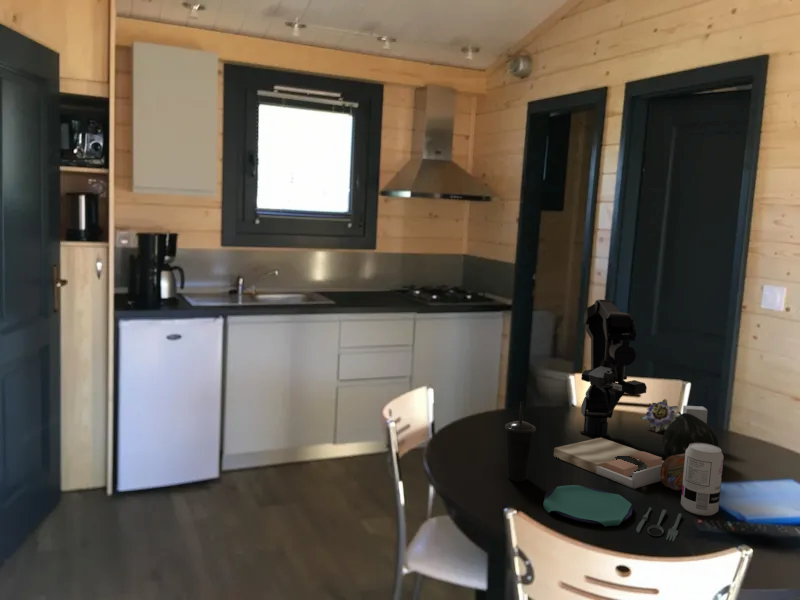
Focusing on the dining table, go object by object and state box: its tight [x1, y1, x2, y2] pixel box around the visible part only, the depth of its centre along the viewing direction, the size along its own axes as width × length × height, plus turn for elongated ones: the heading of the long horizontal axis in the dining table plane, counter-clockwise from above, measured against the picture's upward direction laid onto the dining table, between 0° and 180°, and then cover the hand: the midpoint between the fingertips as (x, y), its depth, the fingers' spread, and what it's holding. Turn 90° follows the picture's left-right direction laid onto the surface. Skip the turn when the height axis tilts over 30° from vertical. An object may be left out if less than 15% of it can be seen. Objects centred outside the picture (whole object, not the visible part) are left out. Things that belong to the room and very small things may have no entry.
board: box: [553, 437, 642, 474], centre depth 201 cm, size 15×20×2 cm
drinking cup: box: [504, 401, 536, 482], centre depth 182 cm, size 8×8×20 cm
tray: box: [595, 460, 665, 490], centre depth 190 cm, size 12×20×4 cm, turn 125°
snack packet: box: [660, 453, 685, 491], centre depth 182 cm, size 15×3×8 cm, turn 117°
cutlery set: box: [543, 484, 683, 542], centre depth 163 cm, size 20×30×2 cm, turn 61°
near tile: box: [605, 459, 638, 477], centre depth 188 cm, size 6×6×2 cm
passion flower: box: [640, 398, 682, 433], centre depth 231 cm, size 11×11×12 cm
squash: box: [662, 412, 720, 458], centre depth 200 cm, size 14×15×15 cm
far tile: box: [630, 451, 663, 468], centre depth 195 cm, size 6×6×2 cm
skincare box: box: [682, 405, 708, 424], centre depth 215 cm, size 6×4×12 cm
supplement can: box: [680, 443, 725, 516], centre depth 167 cm, size 8×8×15 cm
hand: (610, 410), depth 204 cm, fingers closed
